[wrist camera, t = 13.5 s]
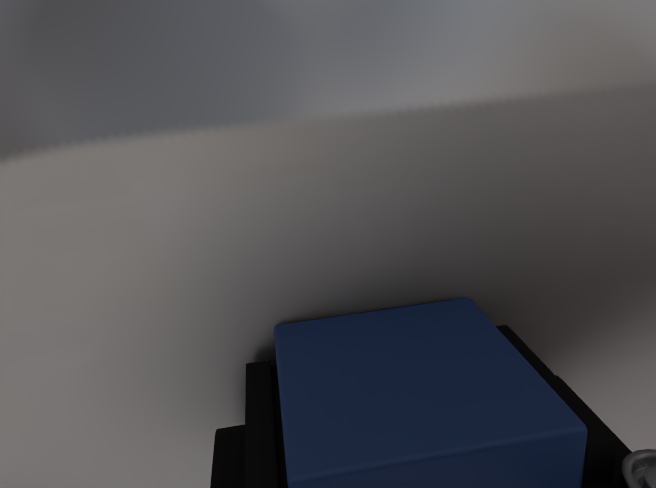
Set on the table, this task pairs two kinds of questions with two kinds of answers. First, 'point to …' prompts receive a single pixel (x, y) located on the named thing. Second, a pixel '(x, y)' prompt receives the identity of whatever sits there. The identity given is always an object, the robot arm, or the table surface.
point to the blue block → (420, 404)
